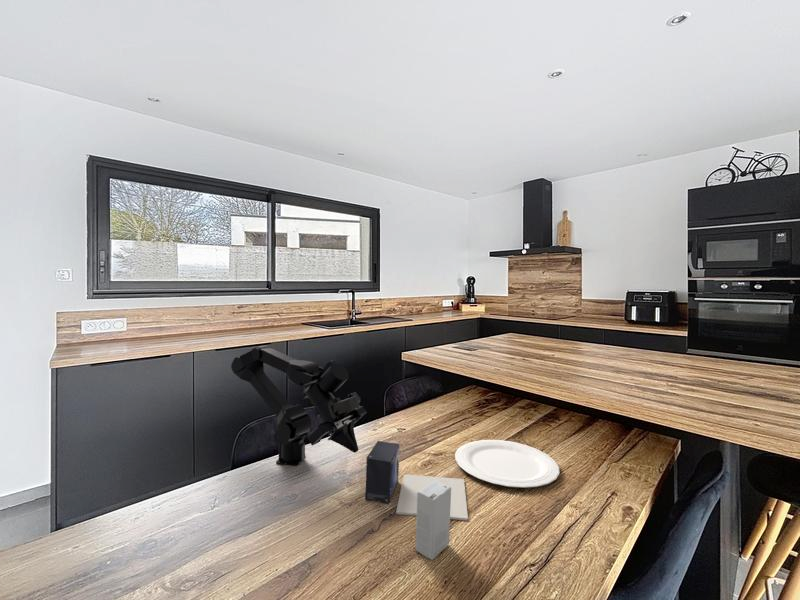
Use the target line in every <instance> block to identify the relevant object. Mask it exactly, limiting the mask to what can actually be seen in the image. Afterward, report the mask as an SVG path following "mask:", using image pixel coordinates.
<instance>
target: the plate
mask: <svg viewBox="0 0 800 600" xmlns="http://www.w3.org/2000/svg"><path fill="white" fill-rule="evenodd" d="M454 458H455V462H456V463H457V465H458V466H459V468H460V469H462V470H463V471H464V472H465V473H466V474H468V475H470V476H472V477H475V478H476V479H478V480H481V481H482V482H486V483H489V484H492V485H496V486H501V487H506V488H515V489H532V488H539V487H543V486H547V485H550V484H551V483H553V482H555V481H556V480H557V479H558V478H559V476H560V467H559V465H558V463H557V461H556V460H554V459H553V458H552V457H551V456H549V455H548V454H547V453H545V452H544V451H541V450H539V449H538V448H535V447H532V446H530V445H527V444H524V443H520V442H516V441H509V440H503V439H502V440H501V439H482V440H481V439H480V440H475V441H474V440H473V441H470V442H467V443H465V444H463V445H461V446H460V447H459V448H457V450H456V452H455V454H454Z"/></svg>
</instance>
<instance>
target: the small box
mask: <svg viewBox="0 0 800 600" xmlns="http://www.w3.org/2000/svg"><path fill="white" fill-rule="evenodd" d="M365 465H366V466H365V467H366V469H365V492H364V500H365V501H372V502H376V503H381V504H382V503H383V504H390V503H391V500H392V498H393V495H394V493H395V490H396V489H397V486H398V483H399V474H400V473H399V472H400V471H399V470H400V469H399V468H400V443H395V442H387V441H380V440H377V441H376V443H375V444H374V446H373V448H371V451H370V452H369V453H368V455H367V457H366V464H365Z"/></svg>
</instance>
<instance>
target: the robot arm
mask: <svg viewBox="0 0 800 600" xmlns="http://www.w3.org/2000/svg"><path fill="white" fill-rule="evenodd" d="M265 364H266V365H268V366H270V367H271V368H274V369H276V370H278V371H280V372H282V373H284V375H286V376H287V379H288V380H289V381H290V382H291V383H292V384H294V385H296V386H297V387H303V386H307V385H309V386H308V387H306V388H305V387H304V388H302V392H301V400H304V399H307V398H308V400H309V401H310V403H311V404H312V405H313V407H314V408H315V410H316V412H314V415H315V417H316V418H318V417H320V418H321V420H322V421H323V422H322V423H319V424H318V425H316V427H315V428H314V429H313V430H312V431H310V430H311V427H312V419H311V417H310V415H309V414H310V413H309V412H308V411H307V410H306V409H305V408H304V406H303V405H302V404H301V403H299V404H296V405H293V404H291V403H290V402H289V400H288V399H287V398H286V396H284V394H282V392H281V390H279V388H278V387H277V386H276V385H275V384H274V383H273V381H272V380H271V379H270V377H268V375H267V374H266V373H265ZM230 366H231V367H230V369H231V370H232V373H233V374H234V375H235V376H237V377H238V378H239V379H240V380H242V381H244V382H247V383H249V384H251V386H252V387H253V388H254V390H255V391H256V392H257V393H258V394H259V396H260V397H261V399H263V401H264V402H265V403H266V404H267V406H268V407H269V408H270V409H271V411H272V412H273V413H274V414H275V416H276V423H277V427H278V429H277V430H276V431H274V433H273V434H272V437H273V441H274V443H276V444H278V459H277V460H276V462H275V463H276V464H277V465H287V466H298V465H299V464H300V463H301V461H302V460H303V459H304V458H305V457H306V443H305V442H304V437H307V436H308V442H309V443H310V445H311V446H315V445H316V444H319V443H320V442H321V439H322V437H323V436H325V435H327V434H328V435H329V437H328V438H327V441H332V442H335V443H336V444H338V445H340V446H341V447H344V448H346V449H348V450H349V451H351V453H355V454H356V453H357V452H358V451H359V450H360V449H359V446H358V442H357V438H356V435H355V430H354V428H355V424H356V423H357V422H358V421H359V420H360V419H361V418H362V417H363V416H364V415H366V414H367V411H366V409H365V408H364V406H363V405H362V406H361V405H360V403H361V397H360V395H358V393H357V392H356V391H354V392H352V393H349V394H347V398H345V399H343V400H341V398H340V397H335V396H334V395H333V394H332V393H336V392H337V390H338V389H340V388H341V386H343V384H344V383H345V382H346V381H347V380H348V379H349V378H350V375H349V372H348V370H347V368H346V367H344V366H343V365H342V364H340V363H337V362H336V361H335V360H334V359H333V360H330V361H328V362H327V363H326V364H325V366H324V367H321V366H319V365H318V363H316V362H314V361H309V360H303V359H301V360H299V359H295V358H293V357H291V356H288V354H284V353H282V352H281V351H278V350H276V349H273V348H272V347H271V346H270V345H267V344H266V345H261V346H255V347H254V348H252V349H251V350H249V351H248V352H245V353H243V354H241V355H240V356H236V357H234V359H233V360H232V362H231V365H230ZM309 431H310V433H309Z"/></svg>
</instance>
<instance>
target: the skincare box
mask: <svg viewBox="0 0 800 600" xmlns="http://www.w3.org/2000/svg"><path fill="white" fill-rule="evenodd" d="M450 506H451V487H449V486H447V485H445V484H442V483H440V482H437V481H433V482H432V483H430V484H429V485H427V486H426V487H424V488H423V489H421V490H420V491H418V493H417V516H416V522H415V526H416V527H415V546H414V547H415V548H414V549H415V551H416V552H418V553H420V554H421V555H422V556H424V557H425V558H427V559H429V560H431V561H432V560H434V559H435V558H436V557H437V556H438V555H439V554H440V553H441V552H442V551H443V550H444V549H445V548H447V547H448V545H449V544H450V527H451V519H450Z"/></svg>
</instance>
